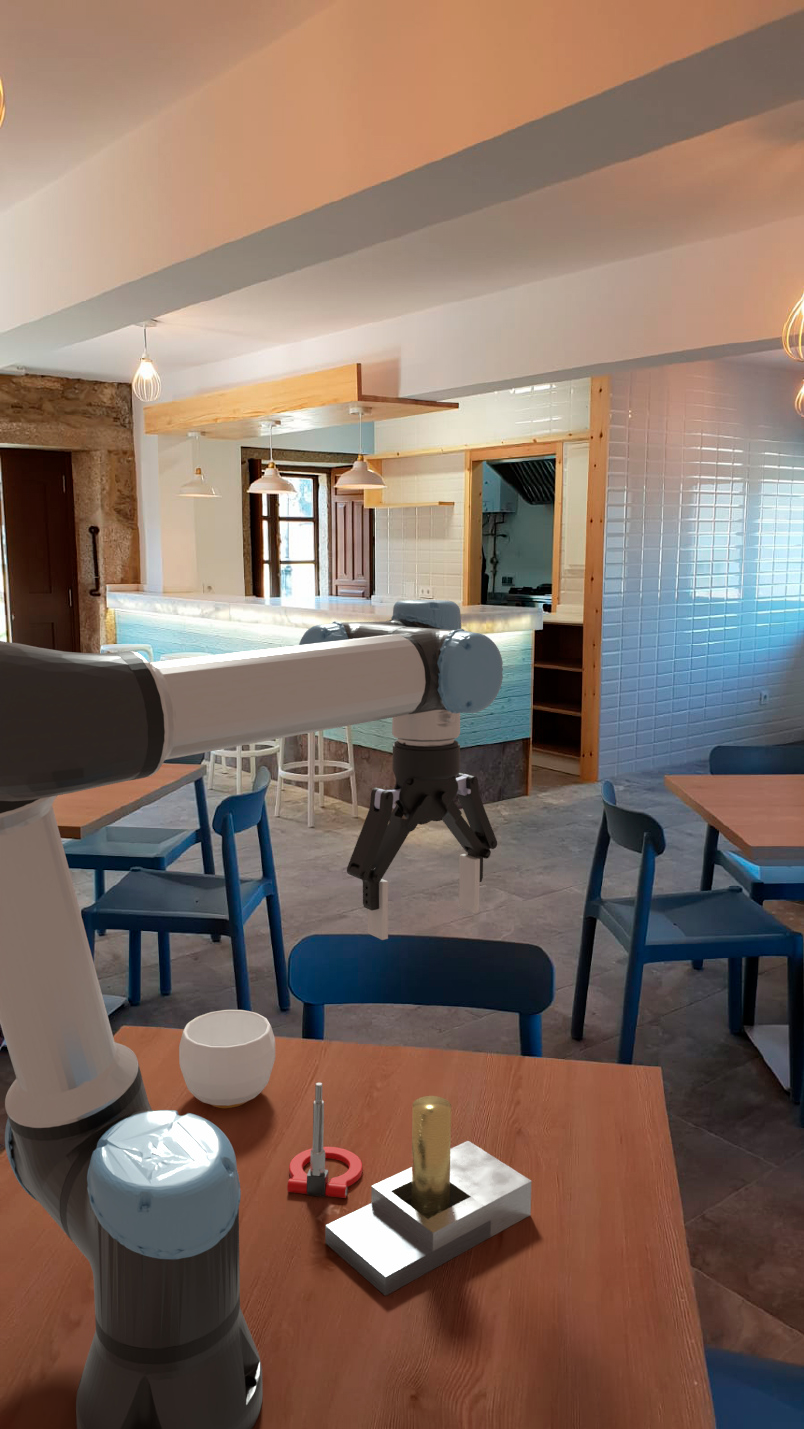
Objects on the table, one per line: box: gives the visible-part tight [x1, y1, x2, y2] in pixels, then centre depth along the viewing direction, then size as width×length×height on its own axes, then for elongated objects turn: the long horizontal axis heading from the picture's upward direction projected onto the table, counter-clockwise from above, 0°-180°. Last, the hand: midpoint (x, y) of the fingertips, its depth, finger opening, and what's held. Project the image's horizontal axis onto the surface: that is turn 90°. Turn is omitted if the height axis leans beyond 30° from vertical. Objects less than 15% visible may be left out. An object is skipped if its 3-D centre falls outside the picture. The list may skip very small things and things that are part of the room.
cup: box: [178, 1009, 276, 1109], centre depth 136 cm, size 12×12×10 cm
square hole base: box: [324, 1140, 532, 1297], centre depth 110 cm, size 20×10×4 cm, turn 129°
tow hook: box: [286, 1082, 363, 1199], centre depth 119 cm, size 8×13×9 cm
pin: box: [411, 1095, 452, 1219], centre depth 109 cm, size 4×4×14 cm
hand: (424, 922), depth 119 cm, fingers open, 13 cm apart
